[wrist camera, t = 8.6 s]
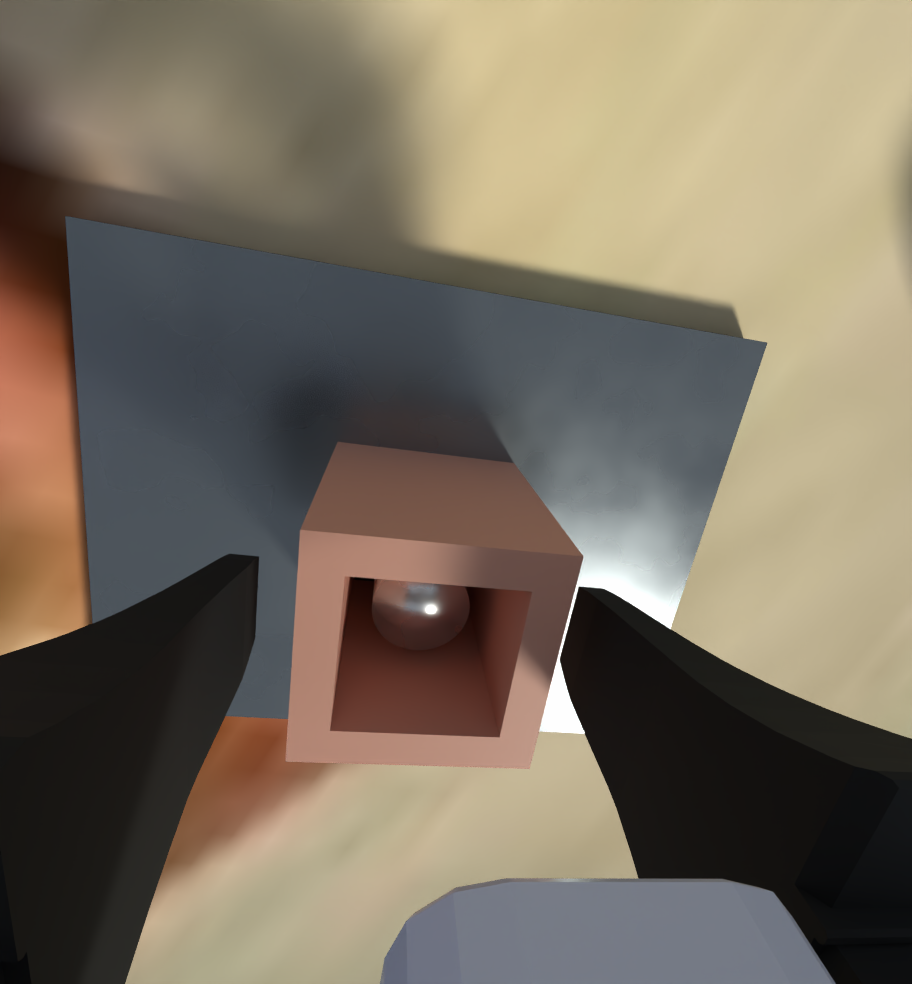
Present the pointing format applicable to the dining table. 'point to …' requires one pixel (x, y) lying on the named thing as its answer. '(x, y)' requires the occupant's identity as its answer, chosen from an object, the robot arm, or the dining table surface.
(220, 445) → the stand
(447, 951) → the robot arm
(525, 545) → the collar
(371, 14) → the dining table surface
